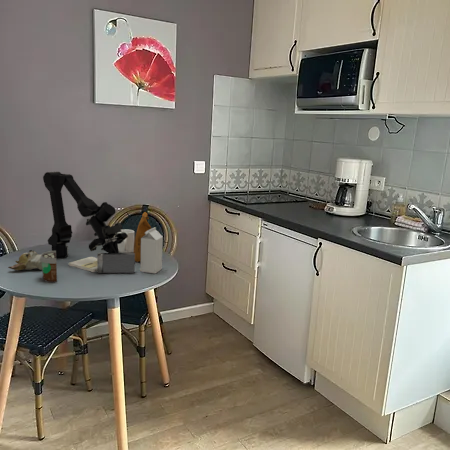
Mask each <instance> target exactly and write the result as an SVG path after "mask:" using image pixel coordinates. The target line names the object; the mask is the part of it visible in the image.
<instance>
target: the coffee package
mask: <svg viewBox="0 0 450 450" xmlns="http://www.w3.org/2000/svg"><path fill="white" fill-rule="evenodd" d="M141 216H142V217H141V218H140V220H139V222H138V225H137V229H136V232H135V235H134V250H133V252H132V253H135V263H138V262H140V263H141V238H142V237H143V236H145V235H146V234H145V232H146V231H148V230H150V229H152V228H153V227H152V226H151V225H150V224H149V222H148V220H149V219H150V218H149V216H148V213H147V212H146V211H144V212H143V213H142V214H141Z"/></svg>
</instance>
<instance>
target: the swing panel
mask: <svg viewBox="0 0 450 450" xmlns="http://www.w3.org/2000/svg"><path fill="white" fill-rule="evenodd" d="M96 255H97V257H96V258H97V271H96V272H97V273H99V274H102V273H104V274H113V273H115V274H116V273H117V274H118V273H120V274H122V273H123V274H124V273H127V274H128V273H133V274H135V263H136V261H135V253H133V252H131V253H120V252H119V253H108V252H98V253H97V254H96Z"/></svg>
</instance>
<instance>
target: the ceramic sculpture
mask: <svg viewBox="0 0 450 450" xmlns="http://www.w3.org/2000/svg"><path fill="white" fill-rule="evenodd" d="M40 256H41V254H40V253H39V254H38V253H37V252H36V251H35V250H32V249H30V250H29V251H28V252H24V253H22V254H21V255H20V256H19V257H18V260H14V262H15V264H13V265H11V266H8V268H9V269H11V270H14V271H23V270H27V271H29V270H33V269H38V270H39V271H40V270H41V271H43V269H42V262H41V261H40Z"/></svg>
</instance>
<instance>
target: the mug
mask: <svg viewBox="0 0 450 450" xmlns="http://www.w3.org/2000/svg"><path fill="white" fill-rule="evenodd" d="M122 232H125V233H126V234H127V236H128V237H127V238H126V239H125V240H124V241H123V242H122V243H120V244H118V250H119V253H133V250H134V239H135V231H134V230H133V229H128V228H127V229H125V228H124V229H122V230H121V232H117V233H116V235H117V234H118V233H122Z"/></svg>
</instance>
